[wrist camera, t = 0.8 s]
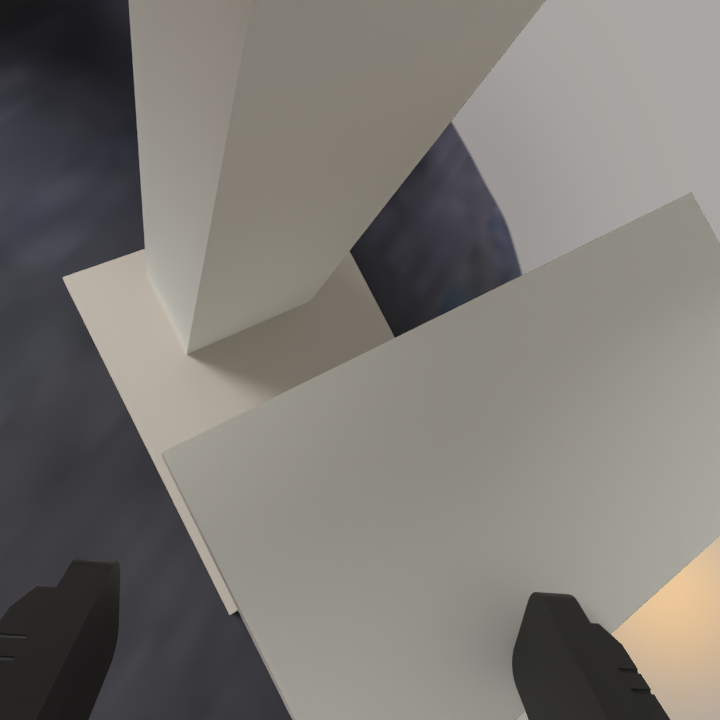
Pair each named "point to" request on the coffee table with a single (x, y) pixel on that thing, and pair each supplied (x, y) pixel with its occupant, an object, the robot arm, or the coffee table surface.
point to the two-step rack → (392, 364)
